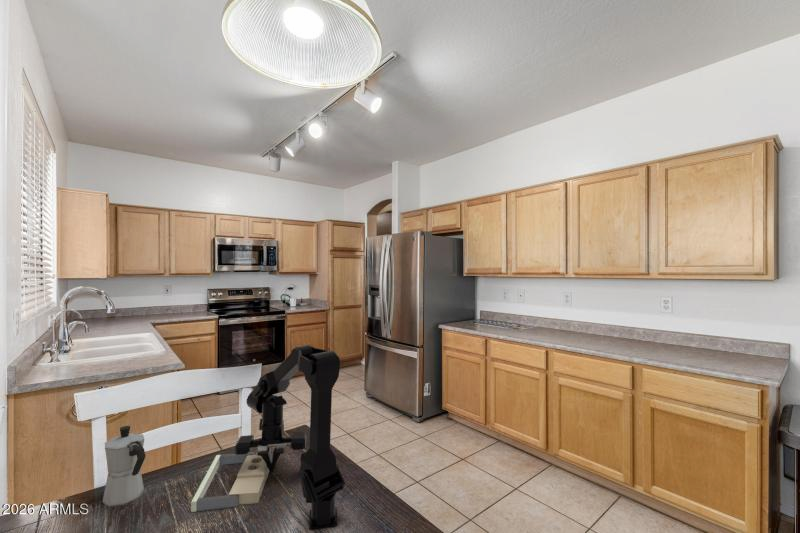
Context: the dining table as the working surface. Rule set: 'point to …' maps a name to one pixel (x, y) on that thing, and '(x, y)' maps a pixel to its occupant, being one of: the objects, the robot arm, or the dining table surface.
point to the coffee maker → (124, 468)
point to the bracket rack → (210, 502)
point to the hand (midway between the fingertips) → (271, 472)
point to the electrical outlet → (250, 480)
